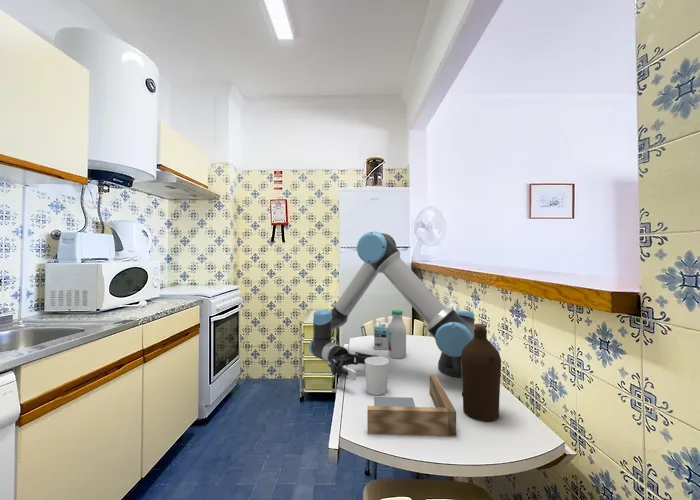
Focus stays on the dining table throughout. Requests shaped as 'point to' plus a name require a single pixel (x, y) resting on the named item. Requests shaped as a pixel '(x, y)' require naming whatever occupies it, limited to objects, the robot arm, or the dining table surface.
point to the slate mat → (394, 401)
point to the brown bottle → (481, 377)
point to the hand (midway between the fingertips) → (371, 371)
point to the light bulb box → (381, 335)
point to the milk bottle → (397, 336)
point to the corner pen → (415, 416)
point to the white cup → (376, 375)
